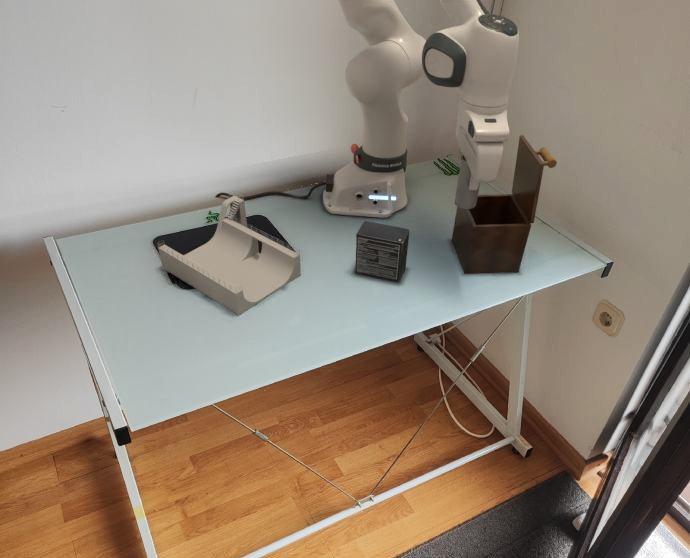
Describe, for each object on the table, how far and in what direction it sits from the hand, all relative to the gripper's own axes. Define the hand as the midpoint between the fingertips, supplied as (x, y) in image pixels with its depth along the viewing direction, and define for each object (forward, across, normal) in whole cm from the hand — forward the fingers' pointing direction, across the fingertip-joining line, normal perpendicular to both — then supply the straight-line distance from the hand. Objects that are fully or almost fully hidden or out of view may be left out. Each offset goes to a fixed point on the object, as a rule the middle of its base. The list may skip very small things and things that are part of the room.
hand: (469, 181), depth 119 cm
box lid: (+2, -4, +13) cm, 14 cm away
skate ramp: (+21, -1, -49) cm, 54 cm away
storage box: (+21, -4, +8) cm, 23 cm away
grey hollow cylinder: (+5, 0, 0) cm, 5 cm away
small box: (+21, +1, -17) cm, 27 cm away
